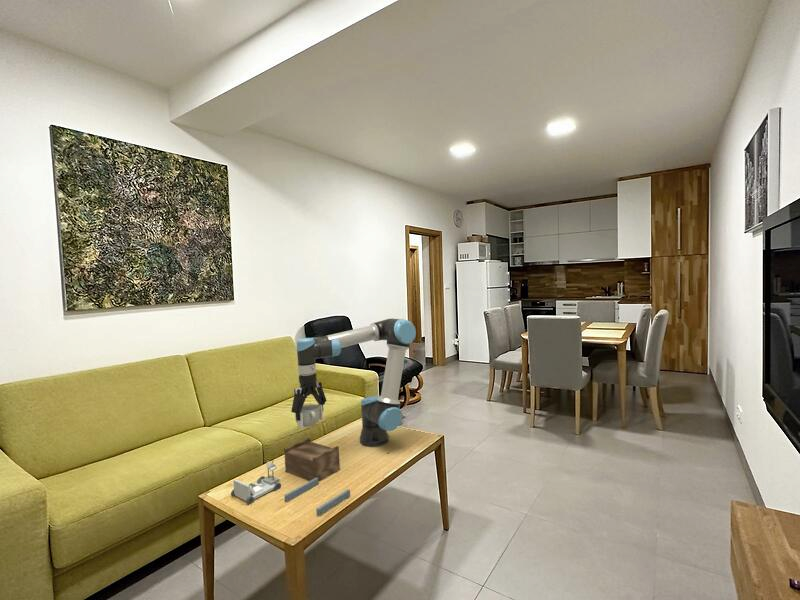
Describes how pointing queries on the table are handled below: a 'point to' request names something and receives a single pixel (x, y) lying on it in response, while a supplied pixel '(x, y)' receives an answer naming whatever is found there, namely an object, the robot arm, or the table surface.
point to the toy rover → (256, 486)
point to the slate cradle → (325, 506)
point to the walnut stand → (311, 460)
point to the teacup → (310, 415)
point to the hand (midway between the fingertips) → (310, 423)
